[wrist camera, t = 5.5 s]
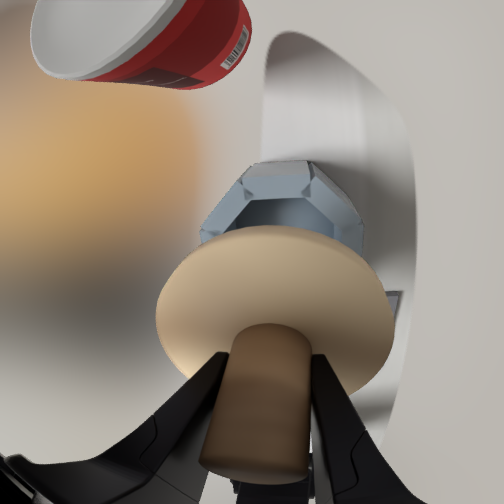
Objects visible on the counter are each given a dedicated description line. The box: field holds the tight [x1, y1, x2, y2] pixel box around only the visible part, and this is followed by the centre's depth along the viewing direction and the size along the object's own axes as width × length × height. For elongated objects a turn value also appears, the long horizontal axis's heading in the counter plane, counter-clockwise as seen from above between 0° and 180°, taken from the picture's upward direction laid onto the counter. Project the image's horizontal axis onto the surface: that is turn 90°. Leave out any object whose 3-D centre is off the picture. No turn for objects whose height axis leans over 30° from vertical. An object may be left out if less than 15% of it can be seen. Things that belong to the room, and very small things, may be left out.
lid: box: [156, 225, 395, 484], centre depth 8 cm, size 9×9×6 cm
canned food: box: [30, 0, 252, 90], centre depth 9 cm, size 8×8×11 cm
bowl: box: [200, 160, 364, 257], centre depth 17 cm, size 9×9×4 cm
